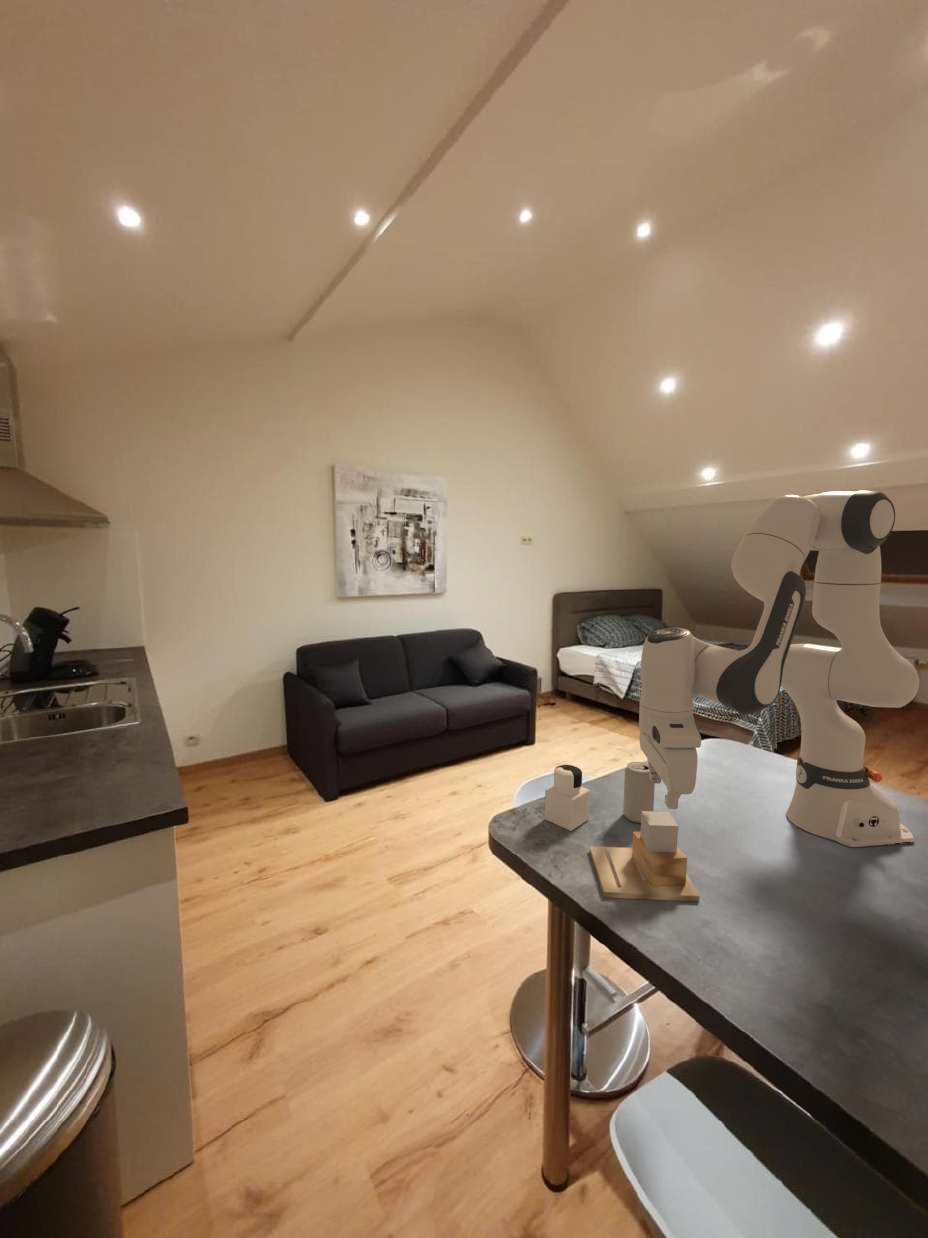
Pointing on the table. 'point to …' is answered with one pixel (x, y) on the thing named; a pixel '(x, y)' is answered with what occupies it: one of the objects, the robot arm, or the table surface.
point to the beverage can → (637, 791)
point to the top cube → (659, 831)
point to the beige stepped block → (567, 798)
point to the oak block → (659, 864)
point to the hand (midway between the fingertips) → (662, 793)
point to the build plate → (633, 878)
